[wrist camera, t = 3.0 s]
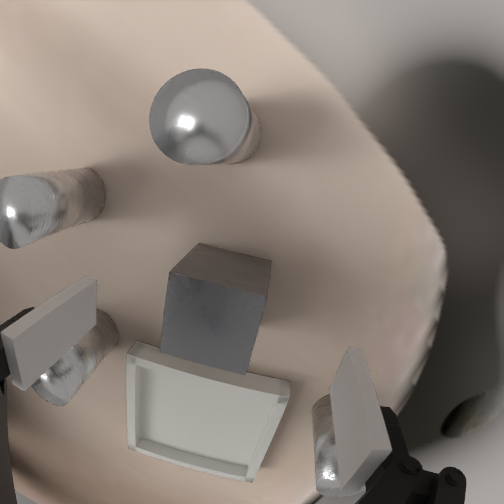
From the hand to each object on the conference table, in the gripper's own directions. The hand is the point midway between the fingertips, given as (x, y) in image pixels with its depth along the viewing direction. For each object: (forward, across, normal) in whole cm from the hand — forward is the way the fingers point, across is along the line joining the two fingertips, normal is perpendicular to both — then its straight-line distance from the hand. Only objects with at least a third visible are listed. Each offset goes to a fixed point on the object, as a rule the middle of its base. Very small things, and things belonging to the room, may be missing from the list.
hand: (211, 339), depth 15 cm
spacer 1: (+7, +12, -4) cm, 15 cm away
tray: (+7, 0, +13) cm, 15 cm away
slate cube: (+7, 0, 0) cm, 7 cm away
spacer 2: (+7, +10, +7) cm, 14 cm away
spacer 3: (+7, +2, -10) cm, 12 cm away
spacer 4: (+7, -10, +9) cm, 16 cm away
